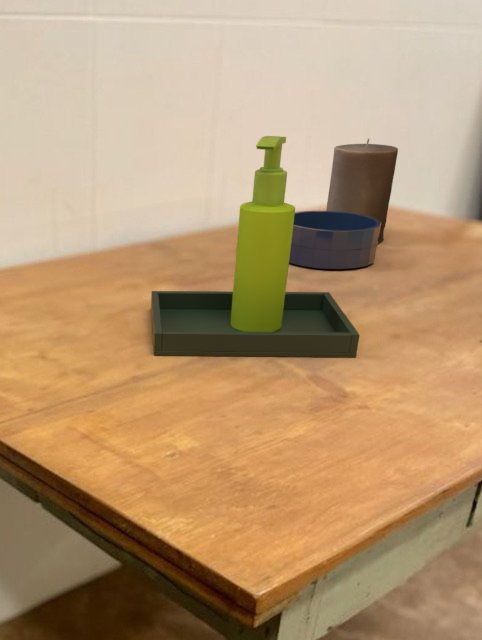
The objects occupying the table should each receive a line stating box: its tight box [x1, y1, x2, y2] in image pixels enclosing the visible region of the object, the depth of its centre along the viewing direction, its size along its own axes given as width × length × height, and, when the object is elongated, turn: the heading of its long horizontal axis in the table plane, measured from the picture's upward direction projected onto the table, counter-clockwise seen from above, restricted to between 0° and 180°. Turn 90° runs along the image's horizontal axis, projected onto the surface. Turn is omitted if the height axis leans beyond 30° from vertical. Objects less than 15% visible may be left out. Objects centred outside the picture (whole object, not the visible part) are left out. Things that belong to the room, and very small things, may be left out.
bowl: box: [289, 210, 381, 270], centre depth 121 cm, size 14×14×6 cm
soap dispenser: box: [230, 135, 296, 332], centre depth 89 cm, size 6×7×20 cm
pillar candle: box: [325, 138, 399, 244], centre depth 129 cm, size 10×10×15 cm
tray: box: [150, 290, 360, 358], centre depth 93 cm, size 22×16×2 cm
